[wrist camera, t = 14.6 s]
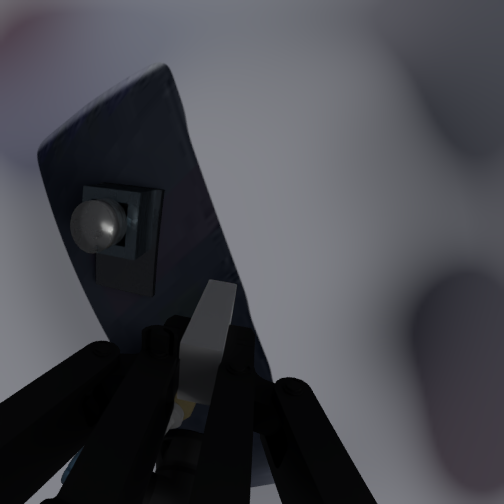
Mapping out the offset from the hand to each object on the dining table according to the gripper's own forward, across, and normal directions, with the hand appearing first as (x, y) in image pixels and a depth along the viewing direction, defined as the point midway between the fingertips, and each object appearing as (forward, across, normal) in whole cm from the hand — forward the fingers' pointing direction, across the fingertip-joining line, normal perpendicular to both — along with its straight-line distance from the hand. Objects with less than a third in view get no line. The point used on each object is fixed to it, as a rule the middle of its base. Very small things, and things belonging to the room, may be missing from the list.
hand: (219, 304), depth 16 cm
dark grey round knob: (+25, +17, +1) cm, 30 cm away
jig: (+26, +17, +5) cm, 32 cm away
